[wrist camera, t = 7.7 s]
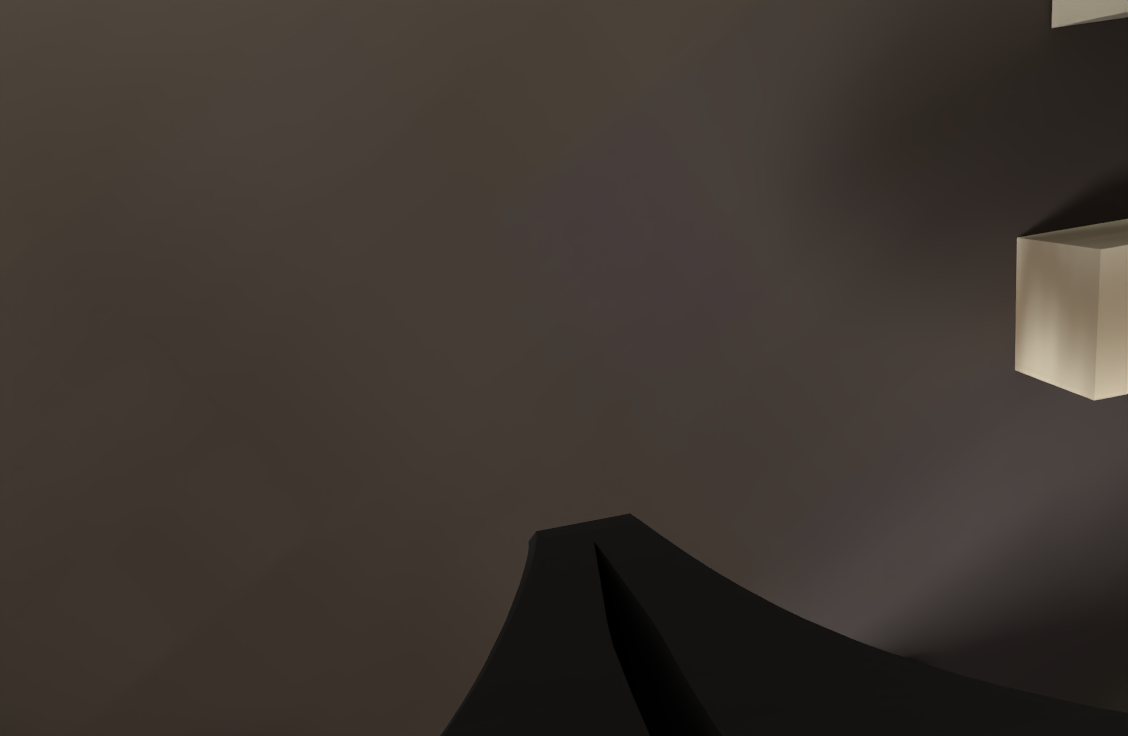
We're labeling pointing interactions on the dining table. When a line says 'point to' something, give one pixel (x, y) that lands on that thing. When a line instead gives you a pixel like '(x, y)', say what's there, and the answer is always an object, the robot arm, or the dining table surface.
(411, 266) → the dining table surface
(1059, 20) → the endcap with seated slat
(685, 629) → the robot arm
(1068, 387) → the slat
